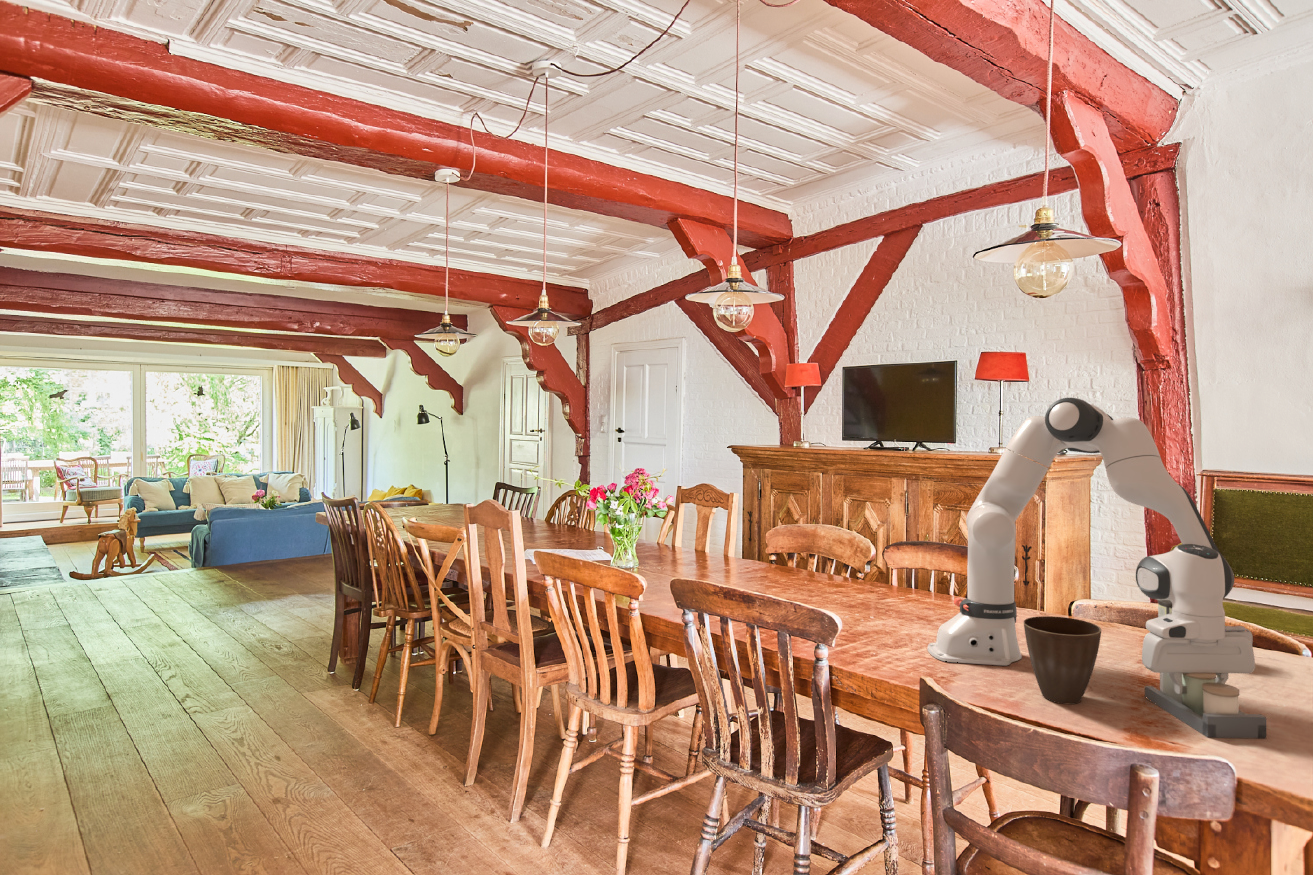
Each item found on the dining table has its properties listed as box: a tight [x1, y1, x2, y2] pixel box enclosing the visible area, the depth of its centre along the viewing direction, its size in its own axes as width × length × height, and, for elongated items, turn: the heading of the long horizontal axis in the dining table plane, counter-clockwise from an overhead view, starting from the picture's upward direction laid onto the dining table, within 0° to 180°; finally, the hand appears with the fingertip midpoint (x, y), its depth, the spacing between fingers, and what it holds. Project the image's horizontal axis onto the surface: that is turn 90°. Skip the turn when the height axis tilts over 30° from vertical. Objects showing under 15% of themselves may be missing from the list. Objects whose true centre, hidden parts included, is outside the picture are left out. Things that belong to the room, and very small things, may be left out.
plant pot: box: [1023, 615, 1102, 704], centre depth 165 cm, size 15×15×16 cm
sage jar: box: [1181, 673, 1217, 716], centre depth 155 cm, size 6×6×8 cm
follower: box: [1159, 673, 1182, 704], centre depth 162 cm, size 7×4×7 cm, turn 86°
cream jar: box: [1202, 682, 1240, 714], centre depth 148 cm, size 6×6×8 cm
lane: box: [1144, 685, 1267, 739], centre depth 154 cm, size 10×21×4 cm, turn 176°
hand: (1197, 693), depth 155 cm, fingers closed on sage jar, 5 cm apart
